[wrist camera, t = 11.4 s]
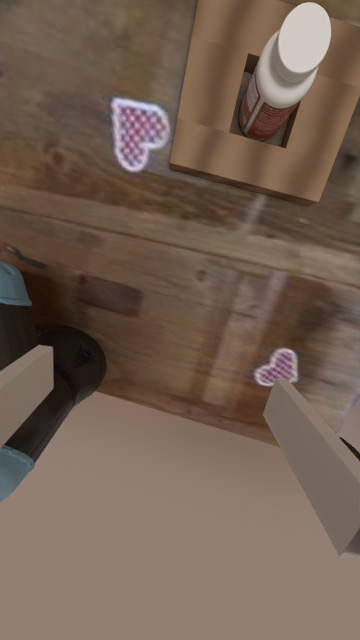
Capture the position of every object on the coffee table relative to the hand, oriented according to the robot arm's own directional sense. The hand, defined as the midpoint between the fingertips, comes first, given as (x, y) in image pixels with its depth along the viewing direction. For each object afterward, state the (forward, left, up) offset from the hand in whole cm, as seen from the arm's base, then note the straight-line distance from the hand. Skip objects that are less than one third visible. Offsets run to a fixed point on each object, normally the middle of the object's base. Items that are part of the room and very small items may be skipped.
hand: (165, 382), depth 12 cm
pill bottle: (+6, +27, -26) cm, 38 cm away
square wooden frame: (+6, +27, -26) cm, 38 cm away
